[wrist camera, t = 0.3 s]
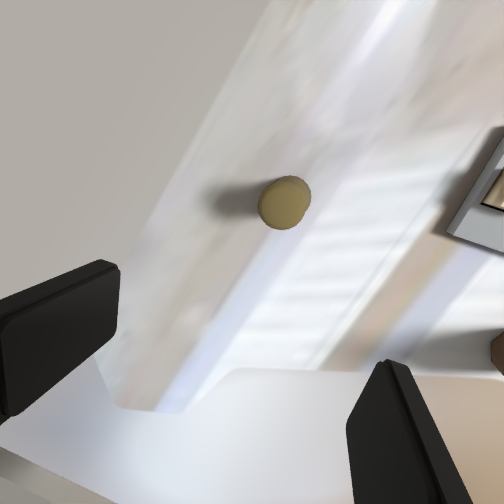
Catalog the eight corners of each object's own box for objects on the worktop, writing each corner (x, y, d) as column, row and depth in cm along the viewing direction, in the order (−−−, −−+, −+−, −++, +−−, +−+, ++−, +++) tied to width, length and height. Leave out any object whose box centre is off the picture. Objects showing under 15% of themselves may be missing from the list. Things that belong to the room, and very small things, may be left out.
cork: (268, 175, 37) (251, 177, 27) (312, 175, 35) (311, 178, 25) (268, 218, 39) (251, 235, 28) (309, 219, 37) (307, 238, 27)
